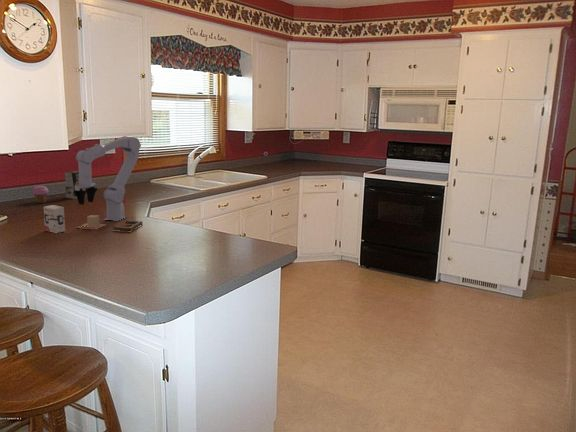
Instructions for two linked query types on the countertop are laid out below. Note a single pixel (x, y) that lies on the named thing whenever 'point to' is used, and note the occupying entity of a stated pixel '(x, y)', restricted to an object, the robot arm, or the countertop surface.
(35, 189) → the cupcake
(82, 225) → the plate
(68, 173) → the coffee box
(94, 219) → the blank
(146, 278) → the countertop surface
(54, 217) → the ink box
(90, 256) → the countertop surface
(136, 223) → the shelf bay
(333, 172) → the countertop surface
